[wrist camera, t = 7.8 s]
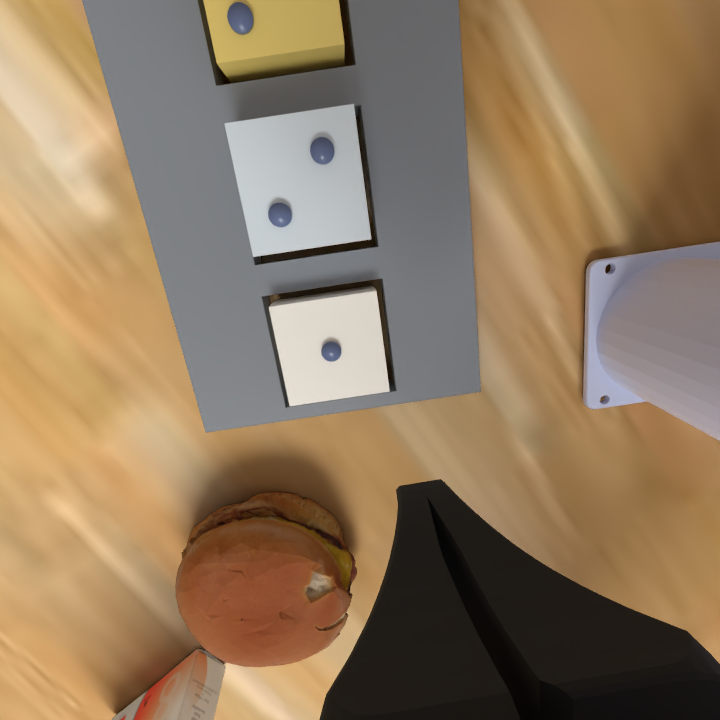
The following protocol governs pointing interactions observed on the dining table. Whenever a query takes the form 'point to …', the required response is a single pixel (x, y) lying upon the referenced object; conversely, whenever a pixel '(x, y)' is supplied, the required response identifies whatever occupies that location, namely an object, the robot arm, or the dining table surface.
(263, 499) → the burger
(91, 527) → the dining table surface
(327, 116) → the tile two
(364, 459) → the dining table surface
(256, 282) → the board
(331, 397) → the tile one
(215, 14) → the tile three
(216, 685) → the ink box
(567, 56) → the dining table surface
